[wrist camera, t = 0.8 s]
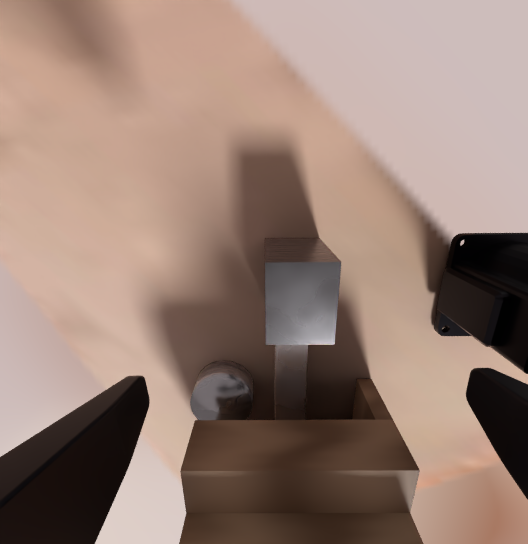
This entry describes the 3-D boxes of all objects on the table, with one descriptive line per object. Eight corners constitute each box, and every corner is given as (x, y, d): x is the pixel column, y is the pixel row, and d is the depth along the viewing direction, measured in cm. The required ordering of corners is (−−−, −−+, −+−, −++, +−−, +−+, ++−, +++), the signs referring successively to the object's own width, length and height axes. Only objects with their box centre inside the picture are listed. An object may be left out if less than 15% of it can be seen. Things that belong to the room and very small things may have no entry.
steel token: (252, 359, 19) (251, 378, 18) (254, 405, 21) (253, 428, 19) (195, 359, 19) (187, 379, 18) (199, 405, 21) (193, 428, 19)
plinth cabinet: (371, 378, 20) (461, 548, 11) (362, 443, 22) (432, 634, 13) (206, 379, 20) (157, 548, 11) (212, 444, 22) (175, 633, 13)
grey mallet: (319, 238, 17) (341, 261, 12) (310, 407, 20) (323, 476, 16) (264, 238, 17) (264, 262, 12) (266, 407, 20) (266, 476, 16)
